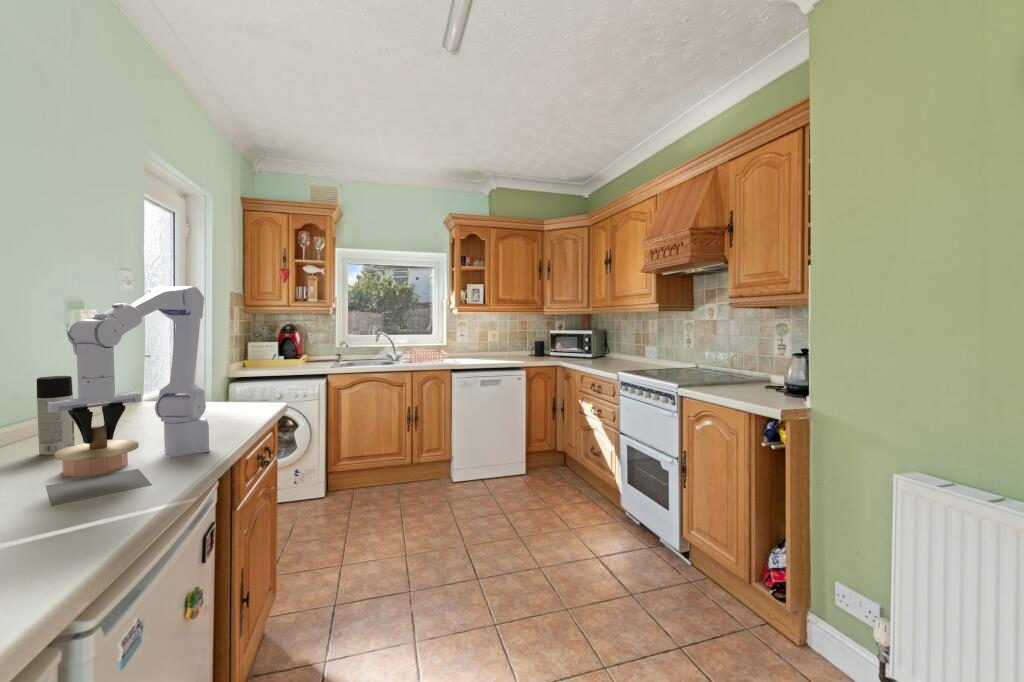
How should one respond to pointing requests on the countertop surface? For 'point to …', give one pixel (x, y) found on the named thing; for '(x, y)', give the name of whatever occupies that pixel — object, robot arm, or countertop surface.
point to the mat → (95, 486)
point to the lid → (96, 447)
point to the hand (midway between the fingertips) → (98, 441)
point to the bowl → (94, 465)
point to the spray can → (54, 414)
